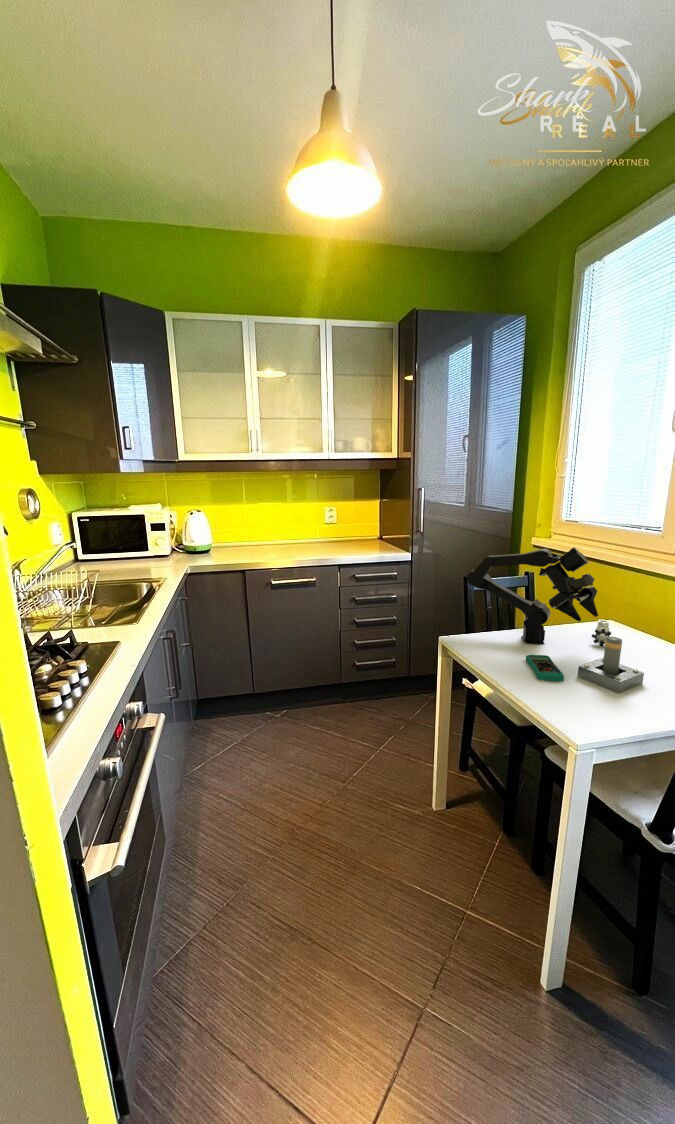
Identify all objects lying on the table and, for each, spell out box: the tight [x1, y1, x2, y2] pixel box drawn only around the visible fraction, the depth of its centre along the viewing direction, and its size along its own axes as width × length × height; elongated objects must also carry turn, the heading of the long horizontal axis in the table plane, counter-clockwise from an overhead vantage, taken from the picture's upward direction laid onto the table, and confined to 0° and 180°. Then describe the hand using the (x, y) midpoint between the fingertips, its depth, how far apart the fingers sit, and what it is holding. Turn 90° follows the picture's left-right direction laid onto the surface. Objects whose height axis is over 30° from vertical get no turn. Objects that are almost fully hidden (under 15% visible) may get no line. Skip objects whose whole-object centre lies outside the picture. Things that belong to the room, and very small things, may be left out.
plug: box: [602, 635, 623, 675], centre depth 125 cm, size 4×4×13 cm
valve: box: [591, 619, 612, 647], centre depth 156 cm, size 7×7×12 cm
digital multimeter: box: [525, 654, 565, 682], centre depth 132 cm, size 7×15×3 cm, turn 171°
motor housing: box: [577, 657, 645, 694], centre depth 125 cm, size 12×12×4 cm
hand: (588, 618), depth 140 cm, fingers open, 9 cm apart
